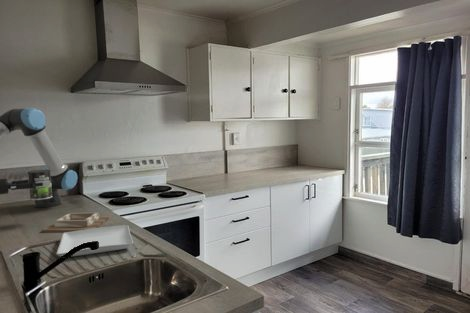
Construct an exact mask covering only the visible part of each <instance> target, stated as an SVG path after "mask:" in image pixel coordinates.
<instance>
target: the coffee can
mask: <svg viewBox="0 0 470 313" xmlns="http://www.w3.org/2000/svg"><path fill="white" fill-rule="evenodd" d="M50 172H51V170H40V169H36V170H29V171H27V176H28V177H27V178H28V179H29V183H33V182H39V181H49V180H50V186H45V187H36V189H34V188H33V189H32V188H31V189H28V190H29V200H30V201H35V200H44V199H49V198H52V186H51V173H50Z"/></svg>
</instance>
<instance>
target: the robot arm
mask: <svg viewBox="0 0 470 313" xmlns="http://www.w3.org/2000/svg"><path fill="white" fill-rule="evenodd" d="M46 121H47V119H46V116H45V114H44V112H43V111H41V109H38V108H34V107H26V108H25V107H24V108H12V109H9V110H7V111H5V112H4V113H2V114H0V139H2V138H3V137H4V136H8V135H10V134H11V133H12V132H15V131H20V130H21V132H22V134H23V135H24V136H25V137H28V138H29V140H30V142H31V143H32V144H33V146H34V148H35V150H36V151H37V152H38V154H39V156H40V158H41V160H42V161H43V163H44V164H45V166H46V168H40V169H39V170H51V172H50V173H51V186H52V198H49V199H44V200H34V207H35V208H51V207H56V206H59V205H61V204H62V203H63V200H62V197H61V196H60V192H59V190H71V189H73V188H74V187H75V186H76V184H77V183H78V178H79V177H78V173H77V172H76V171H75V170H73V169H70V167H69V166H68V165H67V164H66V163H63V160H62V159H61V157H60V156H59V153H58V152H57V150H56V148H55V146H54V145H53V143H52V141H51V139H50V138H49V136H48V134H47V133H46V124H47V122H46ZM45 186H50V180H49V181H39V182H33V183H29V178H28V179H21V180H20V179H19V180H11V182H9V180H8V179H7V178H6V177H5V178H0V195H5V194H6V195H7V194H9V190H11V191H15V190H29V189H31V188H32V189H33V188H34V189H36V187H45Z"/></svg>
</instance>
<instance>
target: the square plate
mask: <svg viewBox="0 0 470 313" xmlns="http://www.w3.org/2000/svg"><path fill="white" fill-rule="evenodd" d="M92 241H98V242H99V248H98V249H97V250H91V249H90V248H86V249H82V250H80V251H78V252H77V253H75V254H74V255H73V256H71V257H78V256H88V255H93V254H94V255H95V254H100V253H108V252H115V251H119V250H125V249H128V248H130V247H131V246H132V245H133V244H134V240H133V237H132V235H131V231H130V226H129V225H128V224H125V225H124V224H123V225H111V226H103V227H101V226H100V227H98V228H93V229H86V230H79V231H72V232H62V235H61V239H60V241H59V245H58V248H57V250H56V253H55V254H56V255H57V256H58V257H60V258H62V257H61V256H63V255H64V254H66V253H68V252H69V251H70V250H71V249H73V248H74V247H77V246H79V245H81V244H83V243H87V242H92ZM71 257H70V258H71Z"/></svg>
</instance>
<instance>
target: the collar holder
mask: <svg viewBox="0 0 470 313" xmlns="http://www.w3.org/2000/svg"><path fill="white" fill-rule="evenodd" d="M110 217H112V216H111V215H100V212H98V211H97V212H93V211H92V212H69V213H67V214H64V216H62V217H60V218H57V219H56V220H54V223H52V224H50V225H48V226H46V227H44V228H42V229H41V230H40V232H41V233H66V232H72V231H79V230H86V229H93V228H100V227H101V226H102V225H103V224H105V223H106V222H107V221H108V220H110ZM106 220H107V221H106ZM105 221H106V222H105ZM101 224H102V225H101Z"/></svg>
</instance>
